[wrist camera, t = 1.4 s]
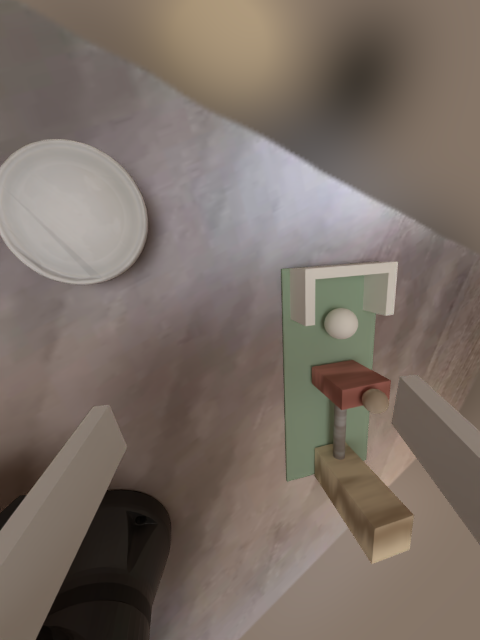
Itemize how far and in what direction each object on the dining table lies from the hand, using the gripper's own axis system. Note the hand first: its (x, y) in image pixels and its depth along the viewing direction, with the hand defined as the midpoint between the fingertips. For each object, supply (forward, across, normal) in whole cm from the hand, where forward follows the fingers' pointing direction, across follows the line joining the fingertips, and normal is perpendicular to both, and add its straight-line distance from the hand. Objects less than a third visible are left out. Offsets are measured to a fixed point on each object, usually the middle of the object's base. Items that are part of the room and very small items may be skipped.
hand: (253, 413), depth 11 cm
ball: (+20, -12, +6) cm, 24 cm away
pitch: (+20, -11, +15) cm, 27 cm away
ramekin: (+18, +14, -9) cm, 25 cm away
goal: (+23, -11, +1) cm, 26 cm away
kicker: (+19, -10, +21) cm, 30 cm away
